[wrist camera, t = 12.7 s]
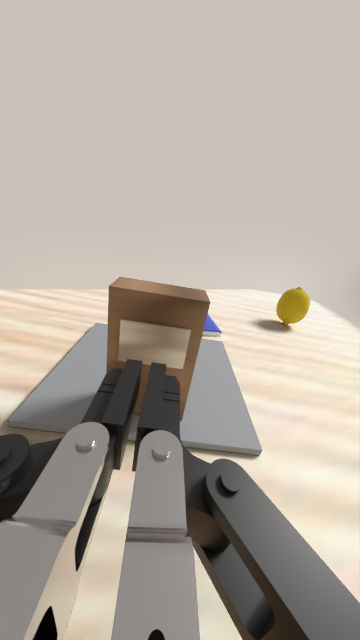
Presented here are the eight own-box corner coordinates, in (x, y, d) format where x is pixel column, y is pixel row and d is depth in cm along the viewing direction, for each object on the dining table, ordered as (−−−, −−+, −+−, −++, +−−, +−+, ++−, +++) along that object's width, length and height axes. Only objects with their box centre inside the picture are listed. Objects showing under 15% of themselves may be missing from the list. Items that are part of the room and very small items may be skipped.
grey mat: (8, 426, 14) (7, 420, 14) (95, 326, 29) (95, 322, 29) (259, 455, 15) (262, 450, 15) (221, 345, 30) (222, 341, 30)
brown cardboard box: (104, 413, 16) (108, 286, 12) (114, 388, 18) (120, 276, 14) (182, 422, 16) (210, 302, 12) (181, 397, 19) (205, 290, 15)
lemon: (285, 319, 46) (299, 284, 43) (305, 330, 42) (323, 292, 38) (265, 318, 44) (278, 282, 41) (284, 330, 40) (300, 290, 37)
